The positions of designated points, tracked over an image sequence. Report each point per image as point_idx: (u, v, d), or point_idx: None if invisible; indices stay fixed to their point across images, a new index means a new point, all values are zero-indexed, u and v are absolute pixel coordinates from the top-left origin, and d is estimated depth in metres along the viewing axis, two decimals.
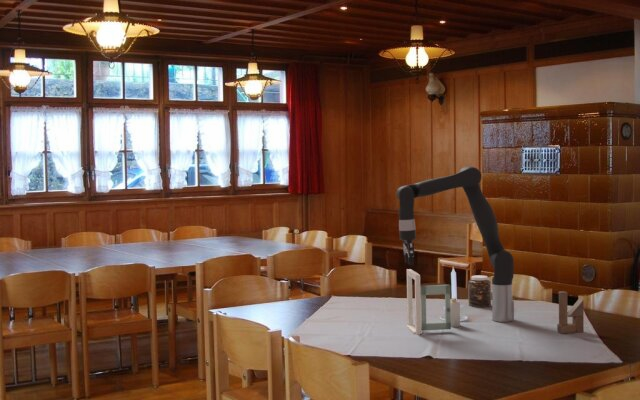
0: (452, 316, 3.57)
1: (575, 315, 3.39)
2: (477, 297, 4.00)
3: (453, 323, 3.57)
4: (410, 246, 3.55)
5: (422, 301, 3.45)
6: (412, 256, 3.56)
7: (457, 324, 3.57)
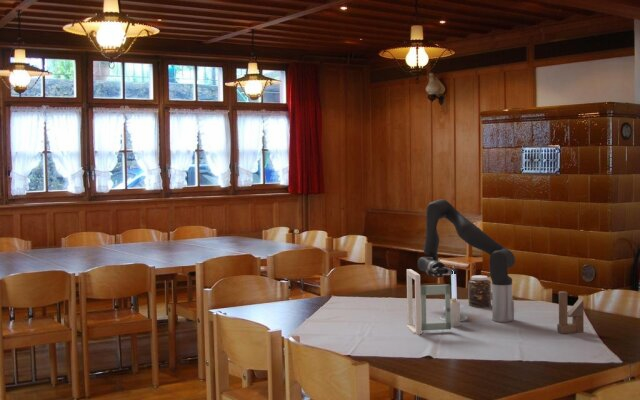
0: (452, 316, 3.57)
1: (575, 315, 3.39)
2: (477, 297, 4.00)
3: (453, 323, 3.57)
4: (427, 272, 3.79)
5: (422, 301, 3.45)
6: (431, 271, 3.75)
7: (457, 324, 3.57)
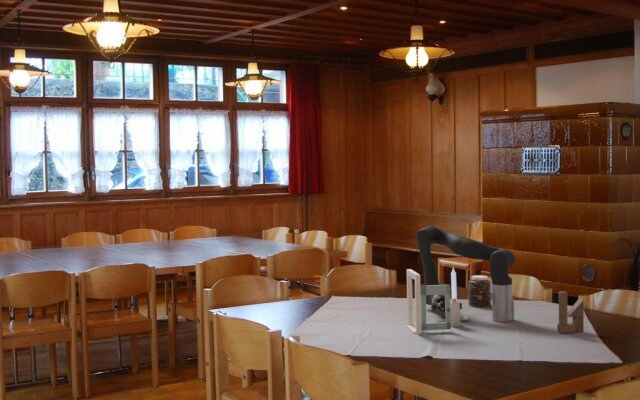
0: (452, 316, 3.57)
1: (575, 315, 3.39)
2: (477, 297, 4.00)
3: (453, 323, 3.57)
4: (431, 306, 3.74)
5: (422, 301, 3.45)
6: (436, 306, 3.69)
7: (457, 324, 3.57)
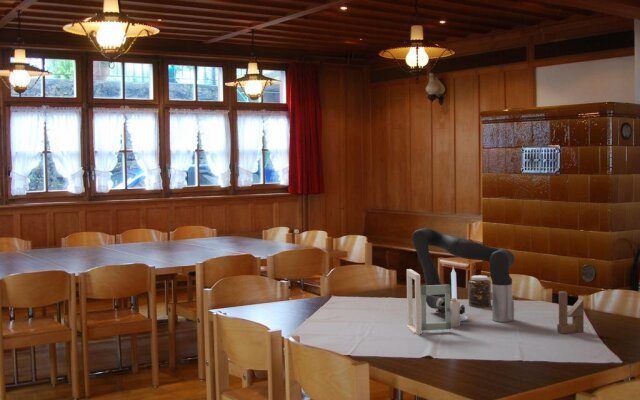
0: (452, 316, 3.57)
1: (575, 315, 3.39)
2: (477, 297, 4.00)
3: (453, 323, 3.57)
4: (437, 310, 3.65)
5: (422, 301, 3.45)
6: (444, 310, 3.60)
7: (457, 324, 3.57)
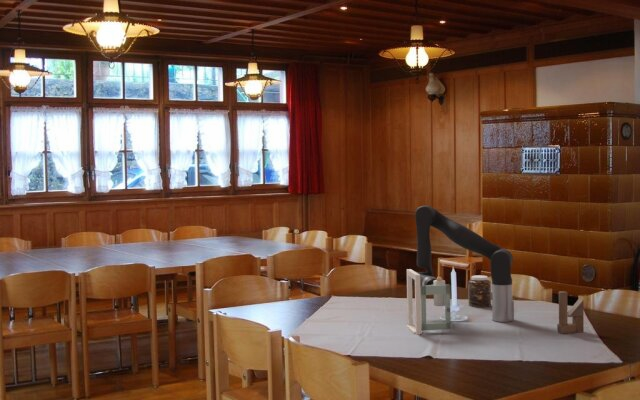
0: (437, 295, 3.49)
1: (575, 315, 3.39)
2: (477, 297, 4.00)
3: (438, 303, 3.49)
4: None
5: (422, 301, 3.45)
6: None
7: (442, 303, 3.49)
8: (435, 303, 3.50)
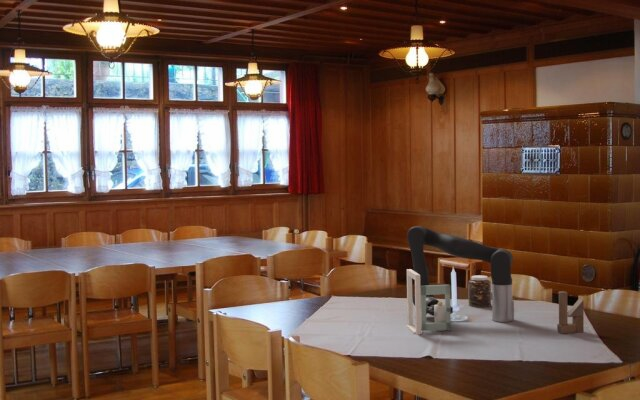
0: (438, 320, 3.50)
1: (575, 315, 3.39)
2: (477, 297, 4.00)
3: None
4: None
5: (422, 301, 3.45)
6: (427, 310, 3.53)
7: None
8: None
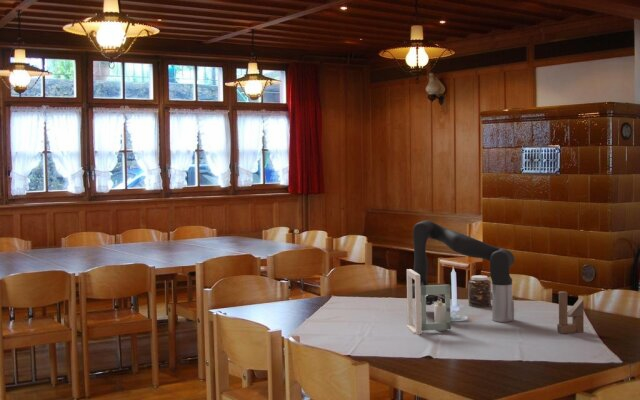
0: (438, 320, 3.50)
1: (575, 315, 3.39)
2: (477, 297, 4.00)
3: None
4: None
5: (422, 301, 3.45)
6: None
7: None
8: None
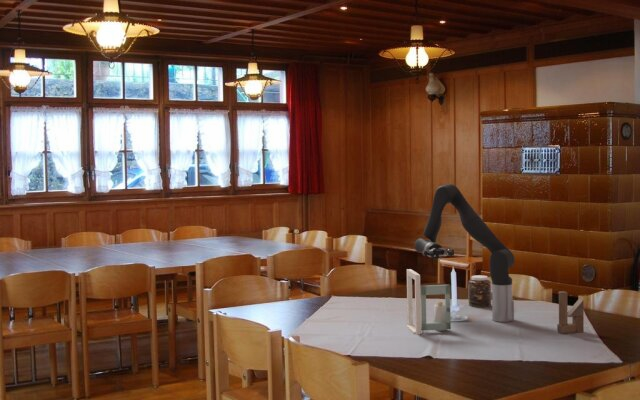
0: (438, 320, 3.50)
1: (575, 315, 3.39)
2: (477, 297, 4.00)
3: None
4: (423, 253, 3.74)
5: (422, 301, 3.45)
6: (428, 252, 3.69)
7: None
8: None
